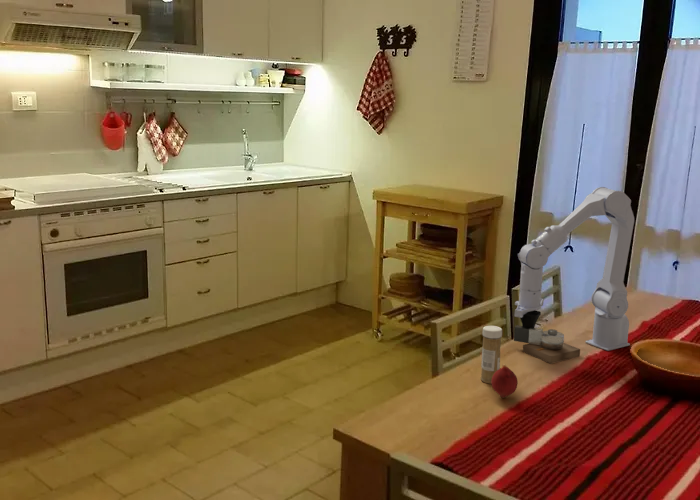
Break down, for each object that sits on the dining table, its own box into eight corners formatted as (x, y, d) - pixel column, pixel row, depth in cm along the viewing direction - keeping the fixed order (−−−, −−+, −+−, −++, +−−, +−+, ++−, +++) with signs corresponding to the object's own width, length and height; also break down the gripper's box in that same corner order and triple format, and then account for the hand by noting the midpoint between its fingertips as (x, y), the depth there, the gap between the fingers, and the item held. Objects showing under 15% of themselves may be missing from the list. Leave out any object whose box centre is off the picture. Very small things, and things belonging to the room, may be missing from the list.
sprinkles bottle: (503, 381, 168) (506, 328, 165) (489, 385, 166) (492, 332, 163) (489, 375, 172) (492, 323, 169) (476, 379, 169) (478, 326, 167)
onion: (517, 394, 161) (519, 361, 159) (515, 404, 156) (517, 370, 154) (492, 390, 163) (494, 358, 161) (488, 400, 158) (490, 367, 156)
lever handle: (565, 344, 188) (566, 329, 187) (560, 351, 183) (562, 335, 182) (517, 336, 194) (518, 322, 193) (511, 343, 189) (512, 328, 188)
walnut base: (551, 345, 194) (551, 337, 194) (579, 356, 186) (580, 348, 185) (522, 351, 189) (523, 344, 188) (550, 363, 180) (551, 355, 180)
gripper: (527, 280, 196) (525, 326, 199) (505, 291, 185) (502, 340, 188) (551, 285, 192) (548, 331, 195) (530, 296, 181) (527, 345, 184)
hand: (527, 336), depth 191 cm, fingers closed, pressing on lever handle
